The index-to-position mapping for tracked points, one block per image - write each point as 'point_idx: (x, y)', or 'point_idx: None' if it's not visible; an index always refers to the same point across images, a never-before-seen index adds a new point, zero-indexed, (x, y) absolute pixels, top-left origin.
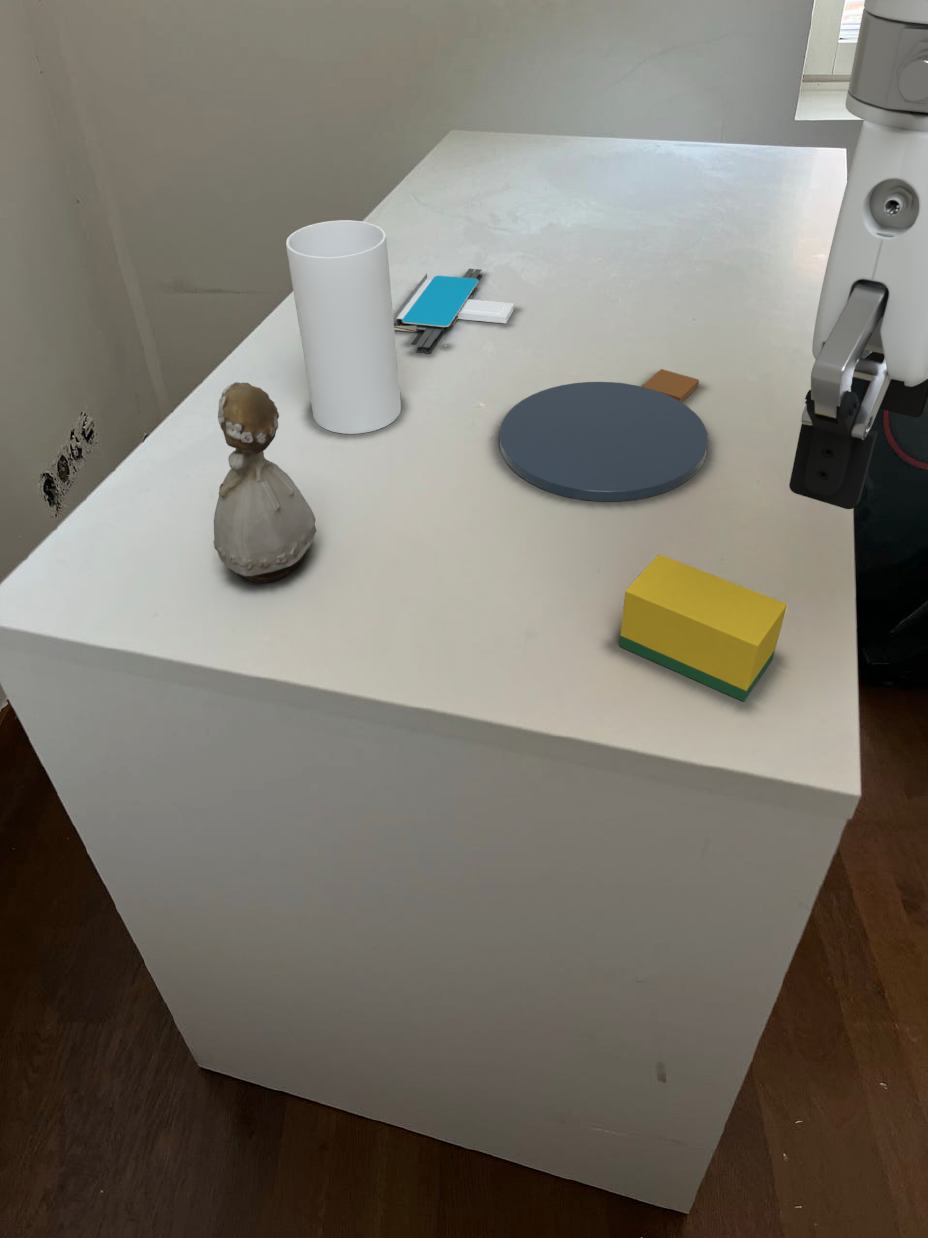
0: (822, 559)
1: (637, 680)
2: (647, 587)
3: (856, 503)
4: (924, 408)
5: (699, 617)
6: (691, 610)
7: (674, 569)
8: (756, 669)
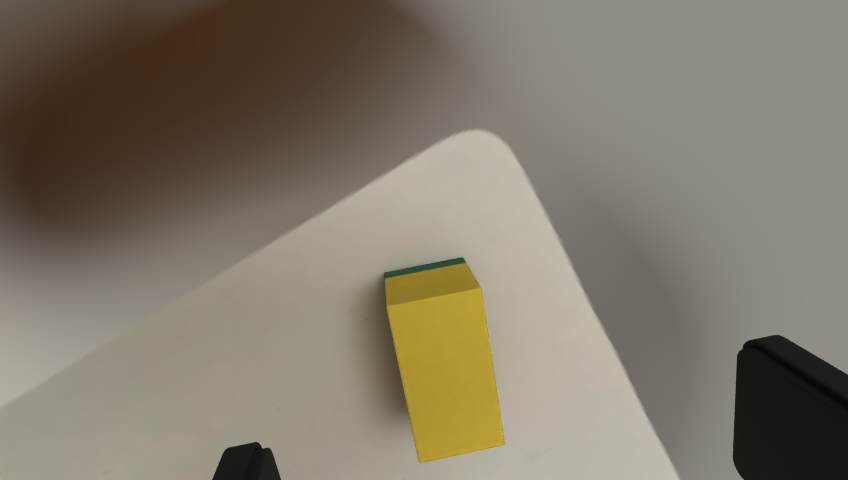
0: (178, 331)
1: (511, 348)
2: (481, 433)
3: (786, 339)
4: (243, 455)
5: (486, 362)
6: (482, 376)
7: (431, 433)
8: (450, 272)
